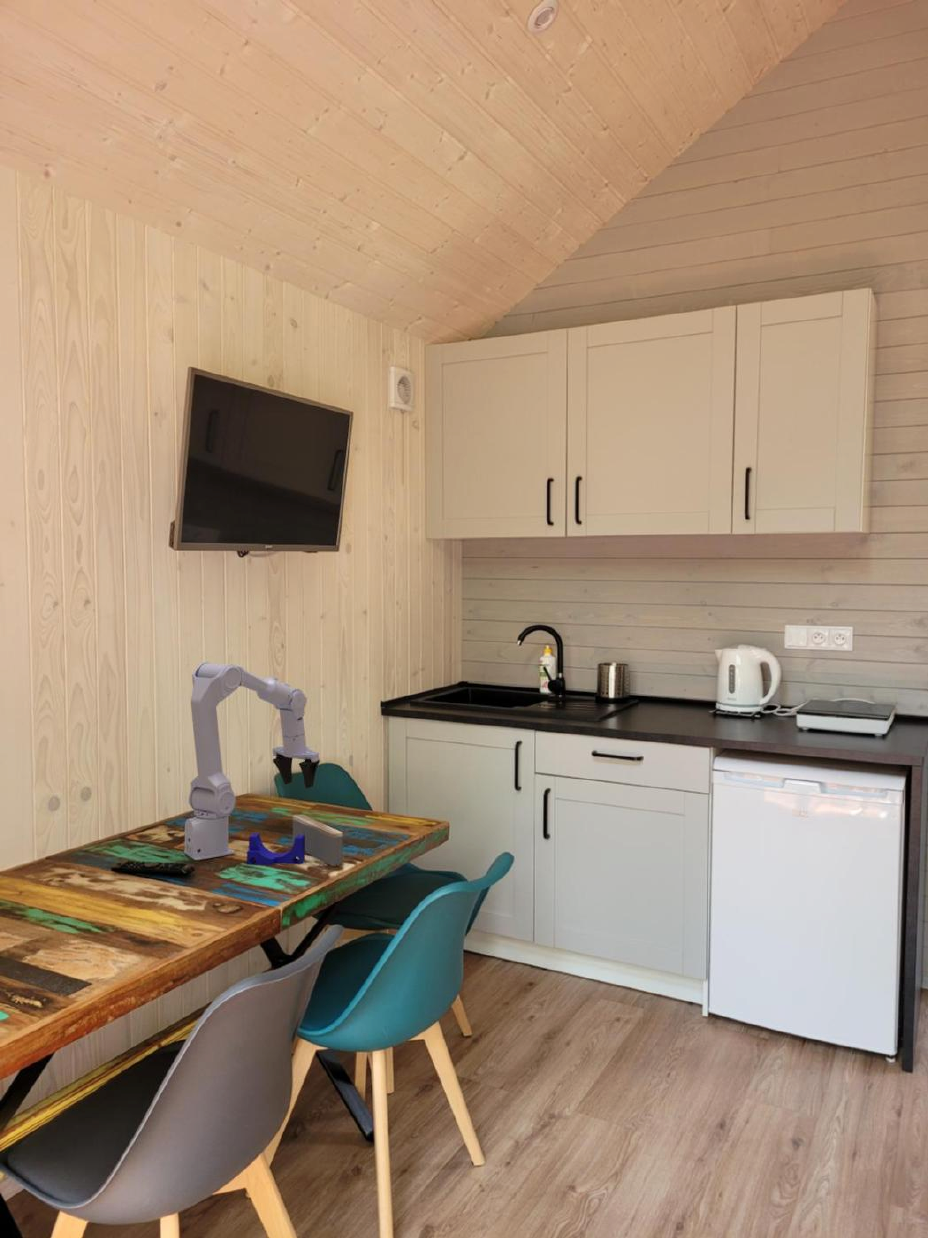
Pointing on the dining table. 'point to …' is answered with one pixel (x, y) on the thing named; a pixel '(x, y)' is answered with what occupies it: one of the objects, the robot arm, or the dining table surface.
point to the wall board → (319, 839)
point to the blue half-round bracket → (266, 857)
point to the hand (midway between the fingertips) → (298, 785)
